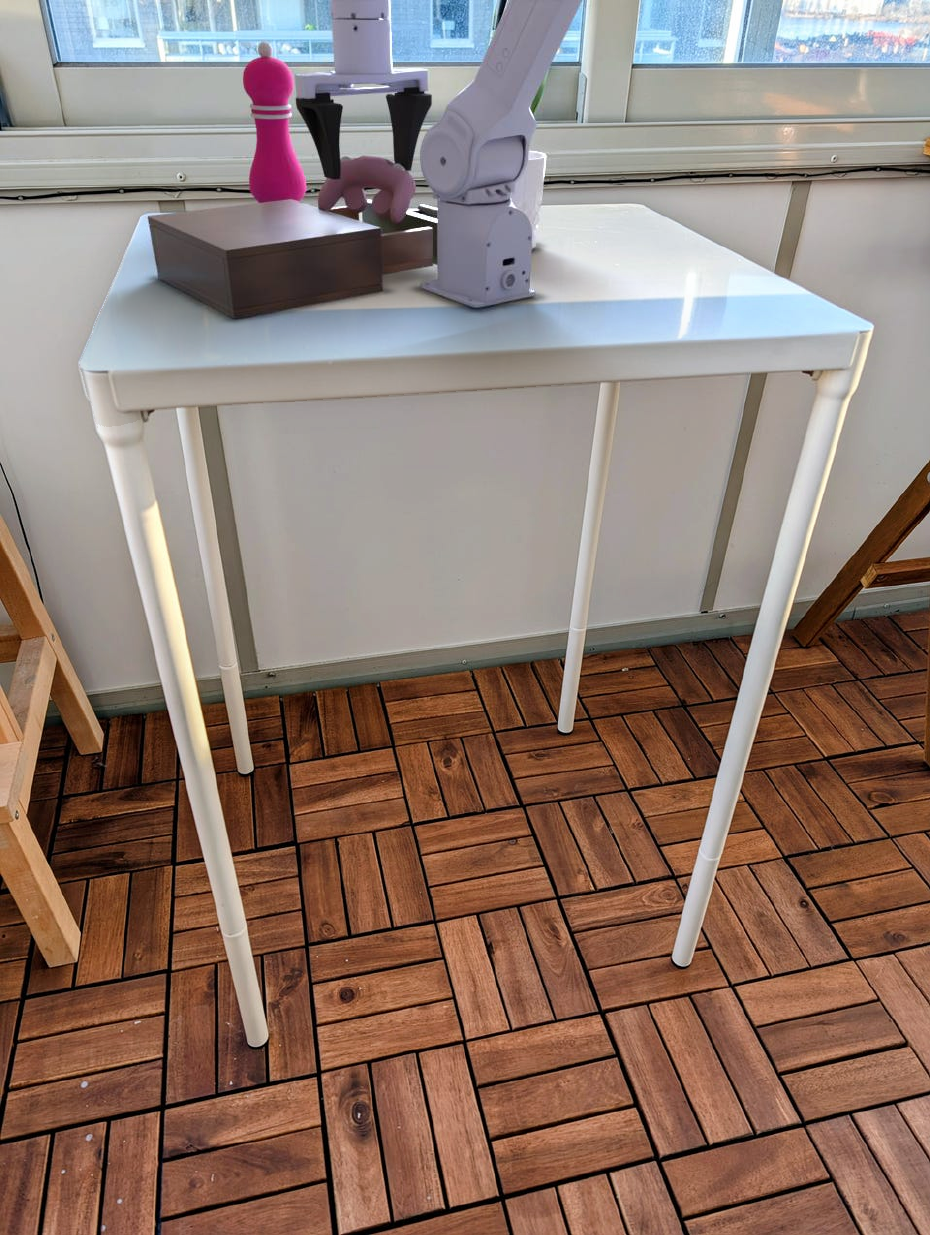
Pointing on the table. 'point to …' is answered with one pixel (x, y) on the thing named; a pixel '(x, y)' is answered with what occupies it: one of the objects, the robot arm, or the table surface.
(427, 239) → the drawer
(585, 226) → the table surface
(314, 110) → the robot arm
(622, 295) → the table surface
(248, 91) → the pepper mill
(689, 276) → the table surface
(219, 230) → the cabinet
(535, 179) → the white cup
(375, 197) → the video game controller
